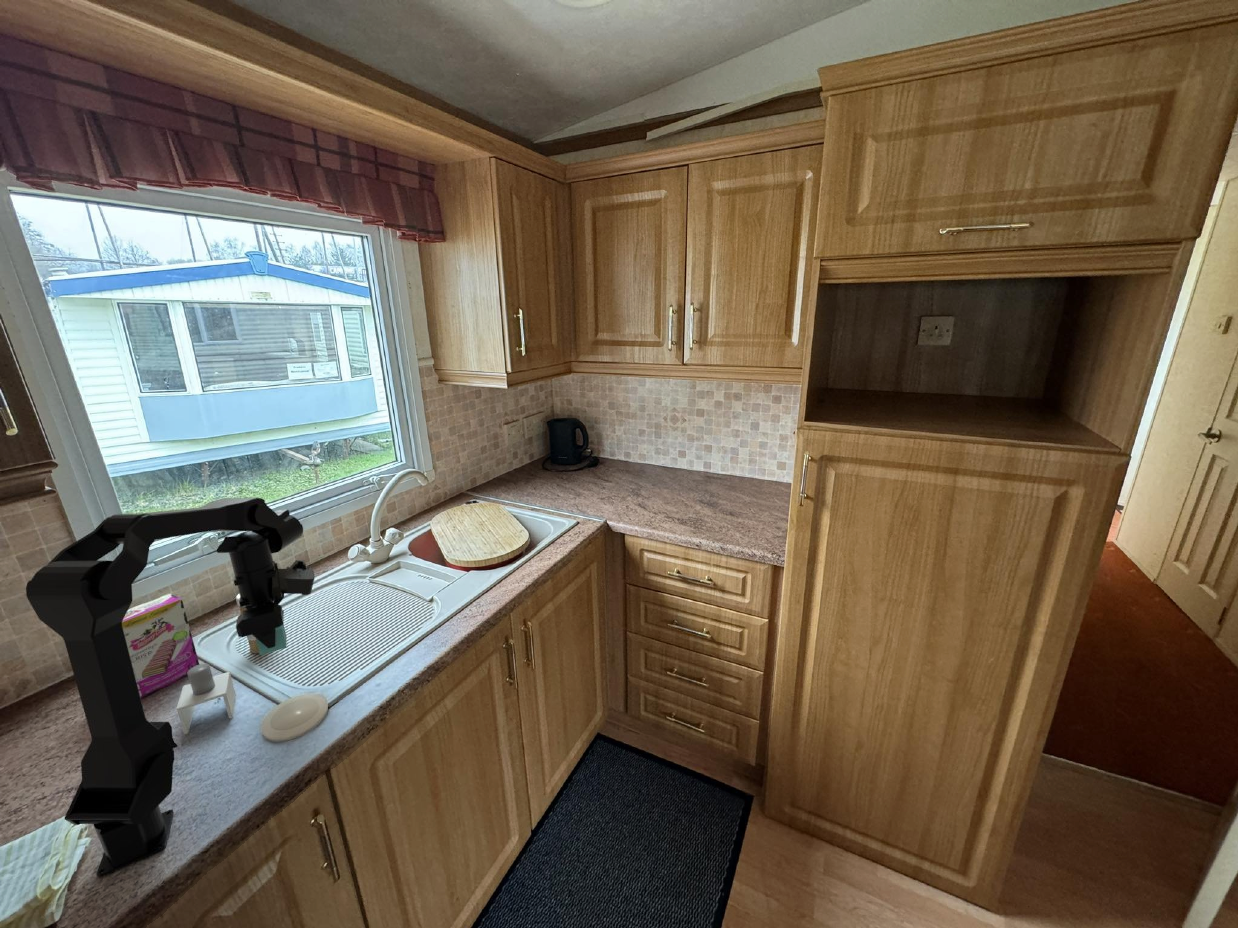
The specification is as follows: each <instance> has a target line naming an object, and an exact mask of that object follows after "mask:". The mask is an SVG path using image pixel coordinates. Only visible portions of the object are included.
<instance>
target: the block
mask: <svg viewBox="0 0 1238 928" xmlns="http://www.w3.org/2000/svg"><path fill="white" fill-rule="evenodd" d="M285 628H286V627H285V623H283V625H281V626H280V627H277V628H276V641H275V647H272V648H267V647H266V646H265V645H264V644H262V643H261V642H260V641H259V640H258V639H257V638H256V642H257V646H258V650H259V653H258V654H259V655H260V656H263V655H266V654H270V653H274V652H277V651H280V650H283V649H286V648H287V642H288V641H287V632H286V629H285Z"/></svg>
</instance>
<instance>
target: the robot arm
mask: <svg viewBox="0 0 1238 928" xmlns="http://www.w3.org/2000/svg"><path fill="white" fill-rule="evenodd" d="M206 532H241V533H239V534H237V535H236V536H234V535H233V536H224V538H223V540H222V542H221V543H220V544H218V546H217V549H216V553H218V554H225V553H226V554H229V559H230V562H231V566H232V570H233V574H234V577H233V583H234V586H235V587H236V586H237V589H238V594H240V600H239V603H240V607H242V606H245V608H246V609H247V610H245V611H243V612H242V613H241V612H240V614H239V615H238V617H237V619H236V625H235V629H236V632H237V637H238V638H245V637H247V636H249V635H253V636H254V637H255V638H257V639H258V640H259V641H260V642H261V643H262V644H264V645H265V646H266V647H267V648H272V647H275V641H276V628H277V627H280V626H281V625H283V624H284V620H285V619H284V615H285V613H284V612H285V610H284V609H283V607H282V605H280V603H281V602H282V601H283V600H284V598H285V594H288V595H290V594H293V595H296V594H297V595H302V596H307V595H308V596H309V595H311V594H312V591H313V586H314V582H315V579H316V578H315V577H316V576H315V571H314V570H313V568H312V567H309V568H308V566H307V563H306V561H305V560H301V559H296V560H295V561H294V562H293V563H292V564H291V565H290V566H287V567H286V568H279V565H278V562H275V560H274V559H273V554H276V553H278V552H280V551H282V550H283V549H285V548H287V547H288V546H290V545H292V544H293V543H294V542H296V541H298V540H299V539H300V538H301V537H302V535H303V533H304V527H303V524H302V523H301V522H300V521H299V520H298V518H296V516H293V515H291V514H290V510H289V509H277V510H275V511H274V510H273V509H272V508H271V507H270V506H268V505H267V502H265V499H264V498H262V497H223V498H219V499H216V500H214V501H209V502H207V503H206V504H205V505H203V506H199V507H192V508H191V507H190V508H183V509H173V510H164V511H163V510H162V511H154V512H153V511H152V512H145V513H144V512H143V513H142V512H141V513H117V514H113V515H111V516H108V517H106V518H105V519H104V520H102V521H101V523H100V524H98V526H97V527H95V528H94V530H93V531H91V532H89V533H87V534H86V535H85V536H83V537H82V538H80V539H78V540H77V541H74V542H73V543H72V544H70V545H67V546H66V547H64V548H63V549H62V550H60V551H59V552H58V553H57V554H56V555H55V556H54V558H52V559H51V560H50V561H49V562H48V563H47V564H46V565H44V566H43V567H41V568H40V569H38V571H36V573H35V574H34V575H33V576H32V578H31V579H30V580H28V581H27V583H26V587H25V593H26V598H27V600H28V602H29V604H30V606H31V607H32V609H33V611H34V612H35V614H36V616H37V617H38V619H39V620H40V621H41V622H42V623H43V624H45V625H46V626H47V627H48V628H50V629H51V630H53V631H54V633H56V634H57V635H59V636H60V637H61V638H62V639H63V641H64V644H65V649H66V652H67V656H68V658H69V663H70V666H71V669H72V672H73V676H74V680H75V684H76V687H77V691H78V694H79V698H80V702H81V705H82V708H83V711H84V715H85V720H86V723H87V725H88V729H89V733H90V737H91V740H90V743H89V744H88V747H87V748H86V749H85V752H84V754H83V756H82V757H81V762H80V767H81V770H80V771H81V781H80V784H79V785H78V787H77V790H76V792H75V793H74V796H73V798H72V801H71V803H70V805H69V808H68V810H67V811H66V813H65V816H64V821H66V822H68V823H70V824H72V825H75V826H79V825H93V829H95V832H96V835H97V837H98V840H99V842H100V844H101V845H100V846H102V847H101V848H102V849H103V851H104V852H103V855H102V857H101V860H100V863H99V865H98V867H97V870H96V877H97V878H102V877H105V876H107V875H109V874H111V873H114V872H115V871H116V872H117V871H118V870H120V869H123V868H125V867H127V866H130V865H132V864H135V863H137V862H140V861H143V860H144V859H146V858H148V857H150V856H153V855H155V854H157V853H160V852H162V851H163V850H165V848H166V846H167V844H168V843H167V842H168V839H169V834H170V830H171V825H172V821H173V818H174V815H175V812H174V810H173V809H168V810H166V811H163V812H162V811H161V808H160V804H161V803H162V802H163V801H164V800H165V799H166V798H168V797H169V795H170V794H171V793H172V792H173V791H172V789H173V775H174V774H173V772H174V771H173V770H174V763H175V751H174V749H175V748H177V747H178V744H177V742H176V741H175V739H174V738H173V737H174V736H173V726H172V724H171V723H170V722H169V721H149V720H148V719H147V717H146V714H145V711H144V710H145V709H144V706H143V702H142V698H140V694H139V690H138V686H137V682H136V678H135V674H134V670H133V666H132V662H131V658H130V654H129V650H128V646H127V642H126V638H125V635H124V631H123V627H122V621H123V619H124V617H125V615H126V613H127V611H128V609H130V607H131V605H132V603H133V583H134V582H135V581H136V579H137V578H138V577H139V576H140V575H141V573H142V572H143V571H144V570H145V569H146V567H147V565H148V560H149V559H148V558H149V553H150V547H151V546H152V545H153V543H154V542H155V541H156V540H157V541H158V540H163V539H168V538H169V539H170V538H176V537H183V536H189V535H194V534H195V535H196V534H199V533H200V534H201V533H206ZM121 544H122V550H121V551H120V552H119V553H118V555H117V556H116V557H115V558H114V559H113V560H100V559H102V558H104V557H105V556H106V555H108V554H110V553H112V551H114V550H116V549H117V548H118V547H119V546H120V545H121Z"/></svg>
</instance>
